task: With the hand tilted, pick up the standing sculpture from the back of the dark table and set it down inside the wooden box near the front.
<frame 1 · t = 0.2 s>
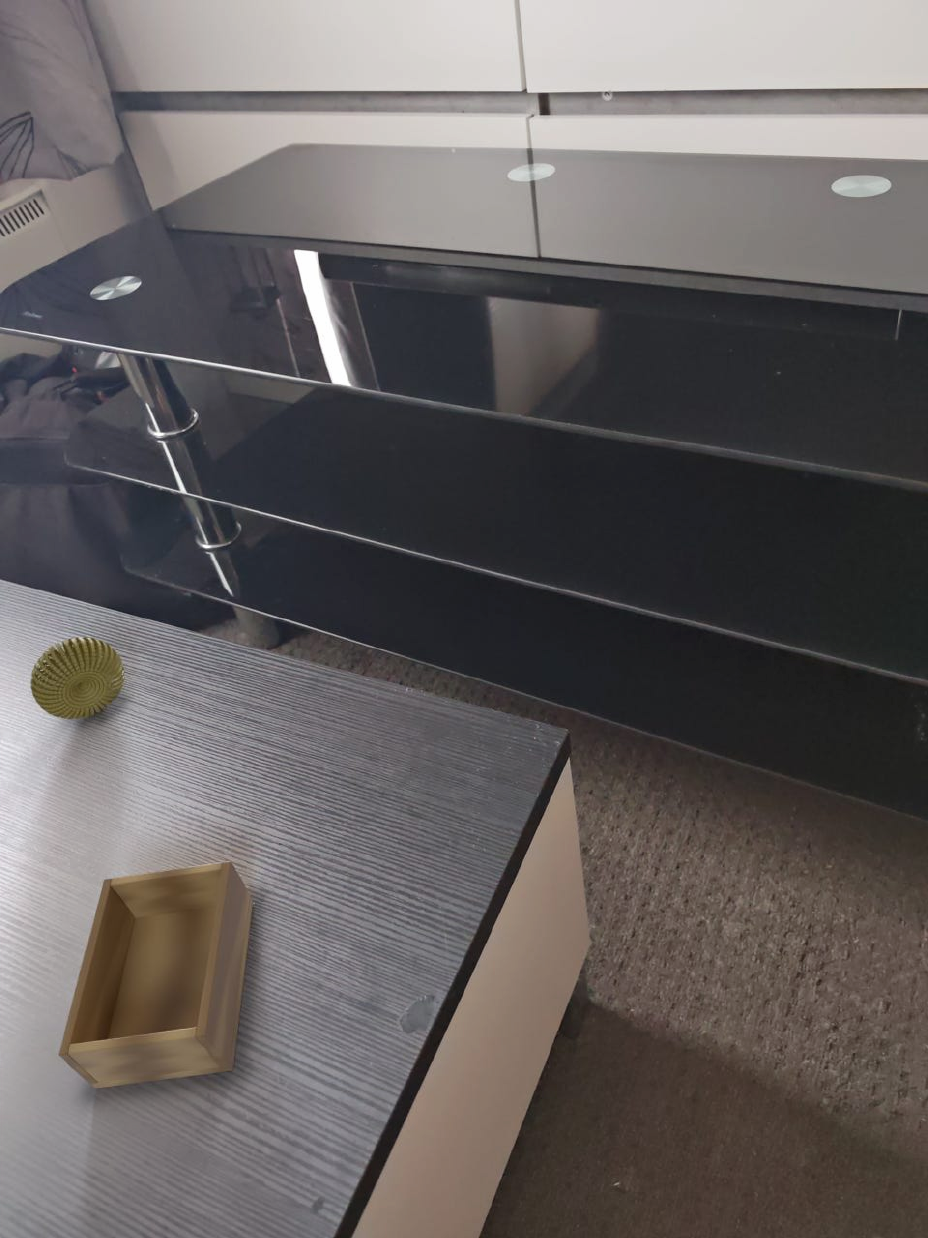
sculpture: (97, 709, 86), on the table
wooden box: (179, 988, 63), on the table
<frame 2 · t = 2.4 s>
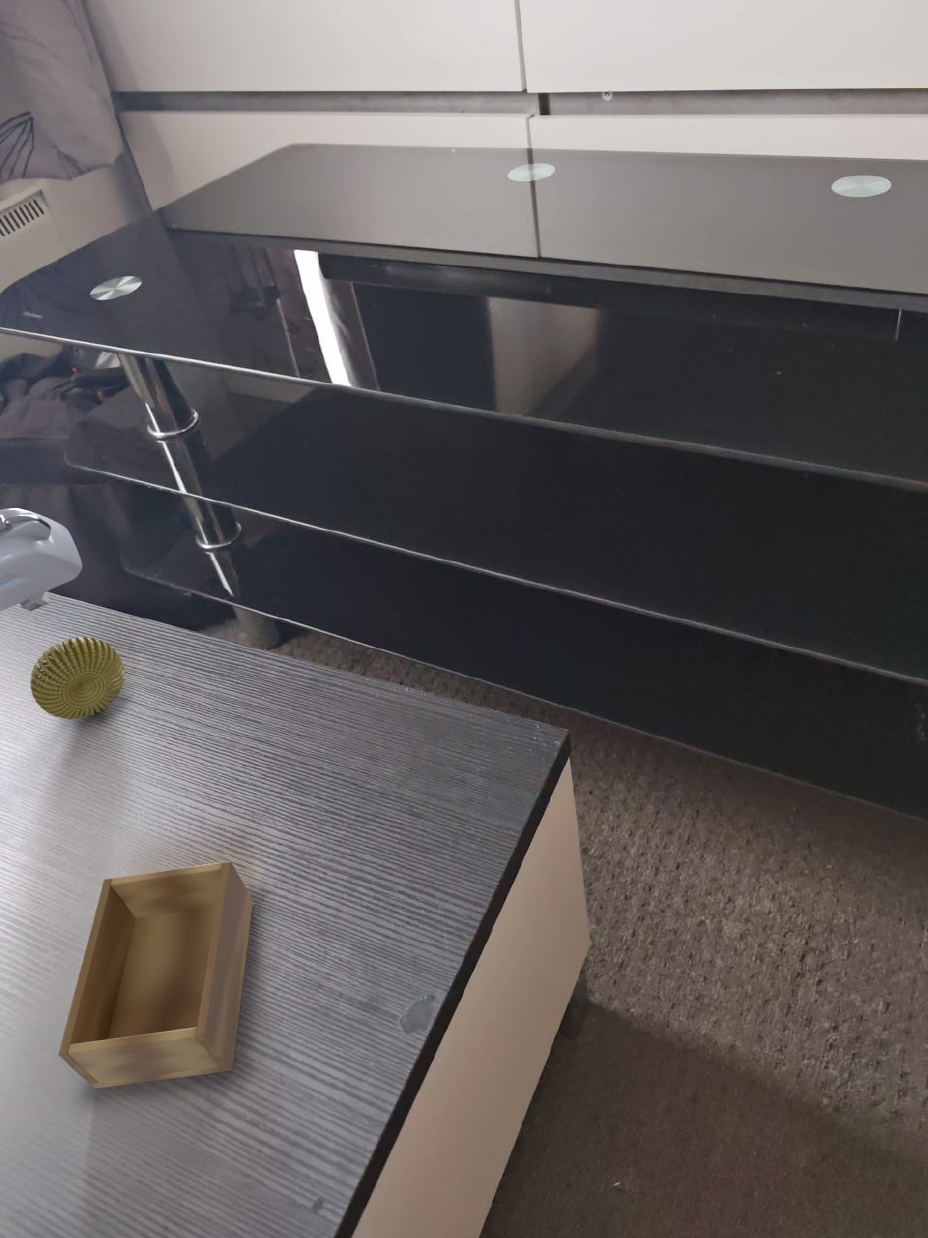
nothing on the table moved.
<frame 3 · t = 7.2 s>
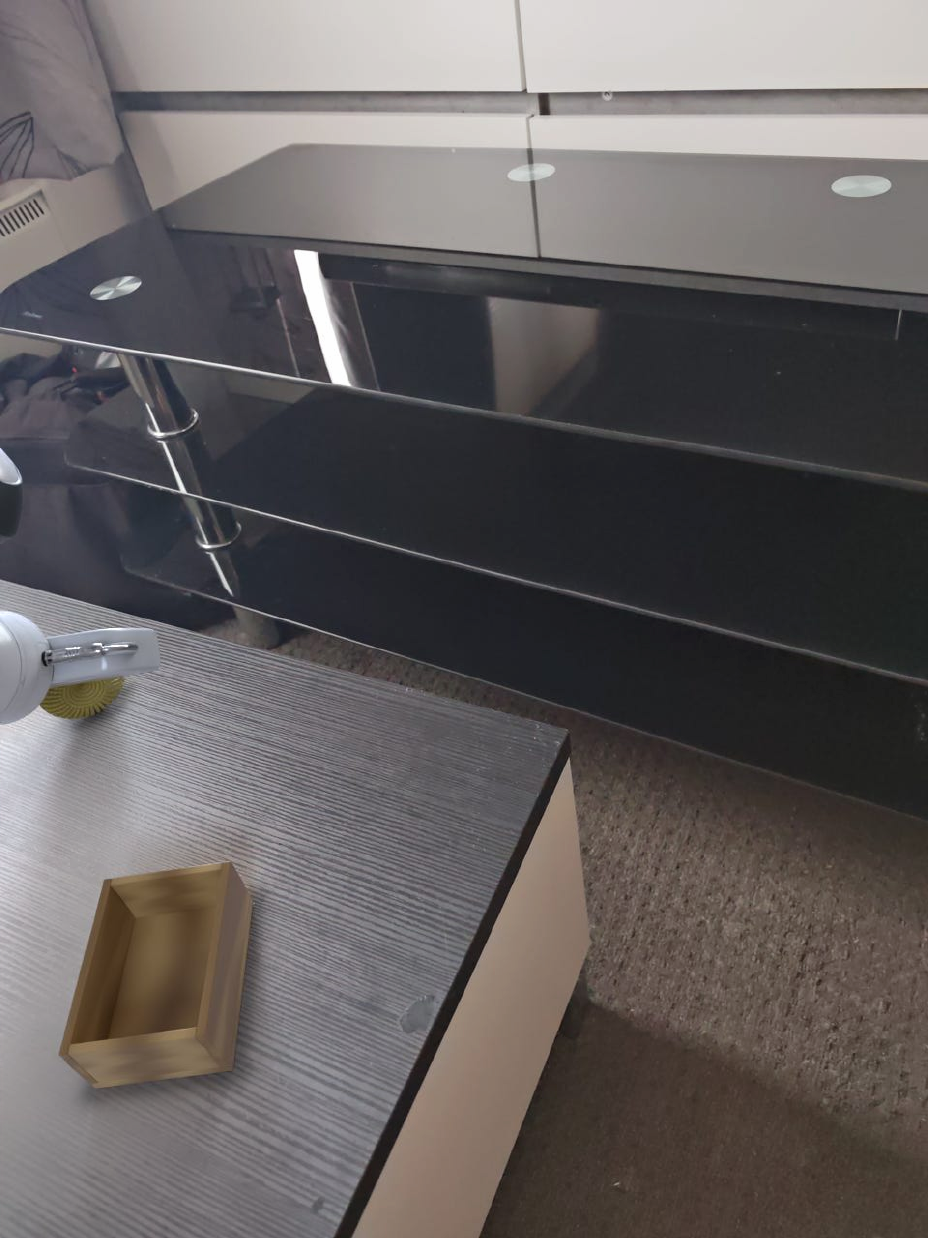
hand: (75, 666, 83), 5 cm above the table, tool tilted 45°, fingers closed on sculpture, 7 cm apart
sculpture: (97, 709, 86), on the table, touching gripper
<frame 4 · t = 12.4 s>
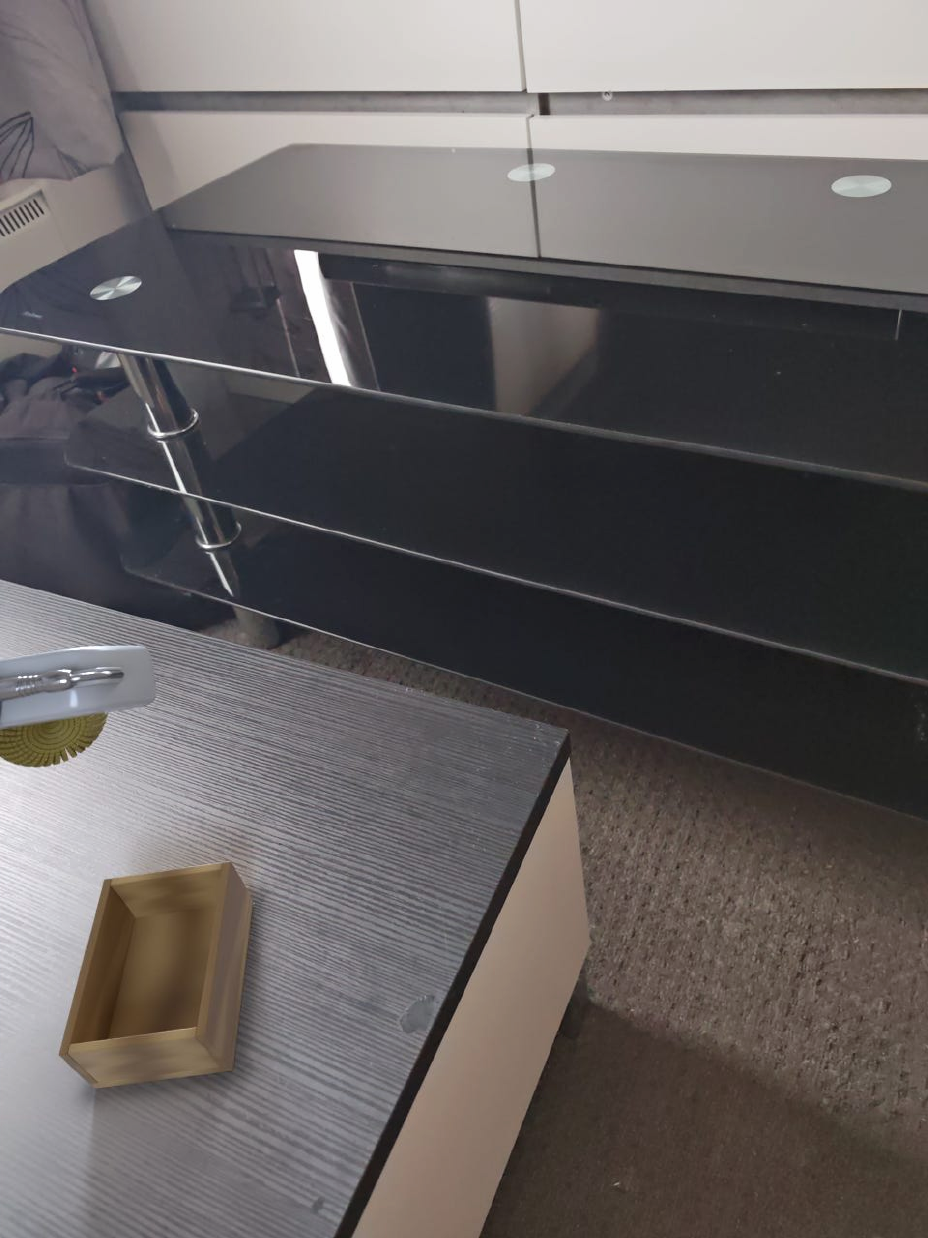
hand: (41, 697, 61), 18 cm above the table, tool tilted 45°, fingers closed on sculpture, 7 cm apart
sculpture: (73, 752, 64), point 13 cm above the table, touching gripper
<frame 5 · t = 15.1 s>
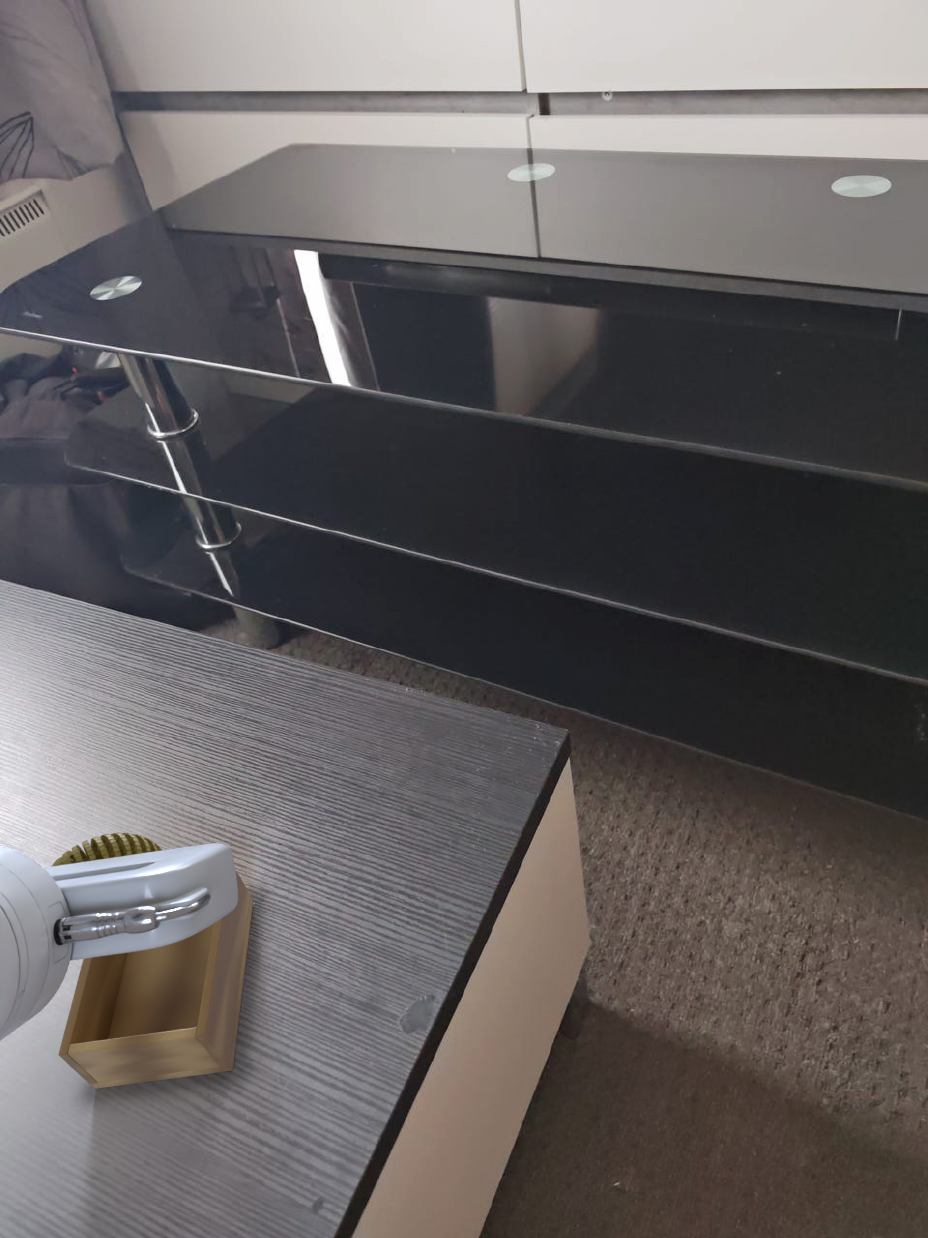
hand: (101, 877, 55), 13 cm above the table, tool tilted 45°, fingers closed on sculpture, 7 cm apart
sculpture: (133, 929, 58), point 8 cm above the table, touching gripper
when the fingers open (8 cm above the table, at t = 17.4 s): sculpture drops 2 cm, resting on wooden box.
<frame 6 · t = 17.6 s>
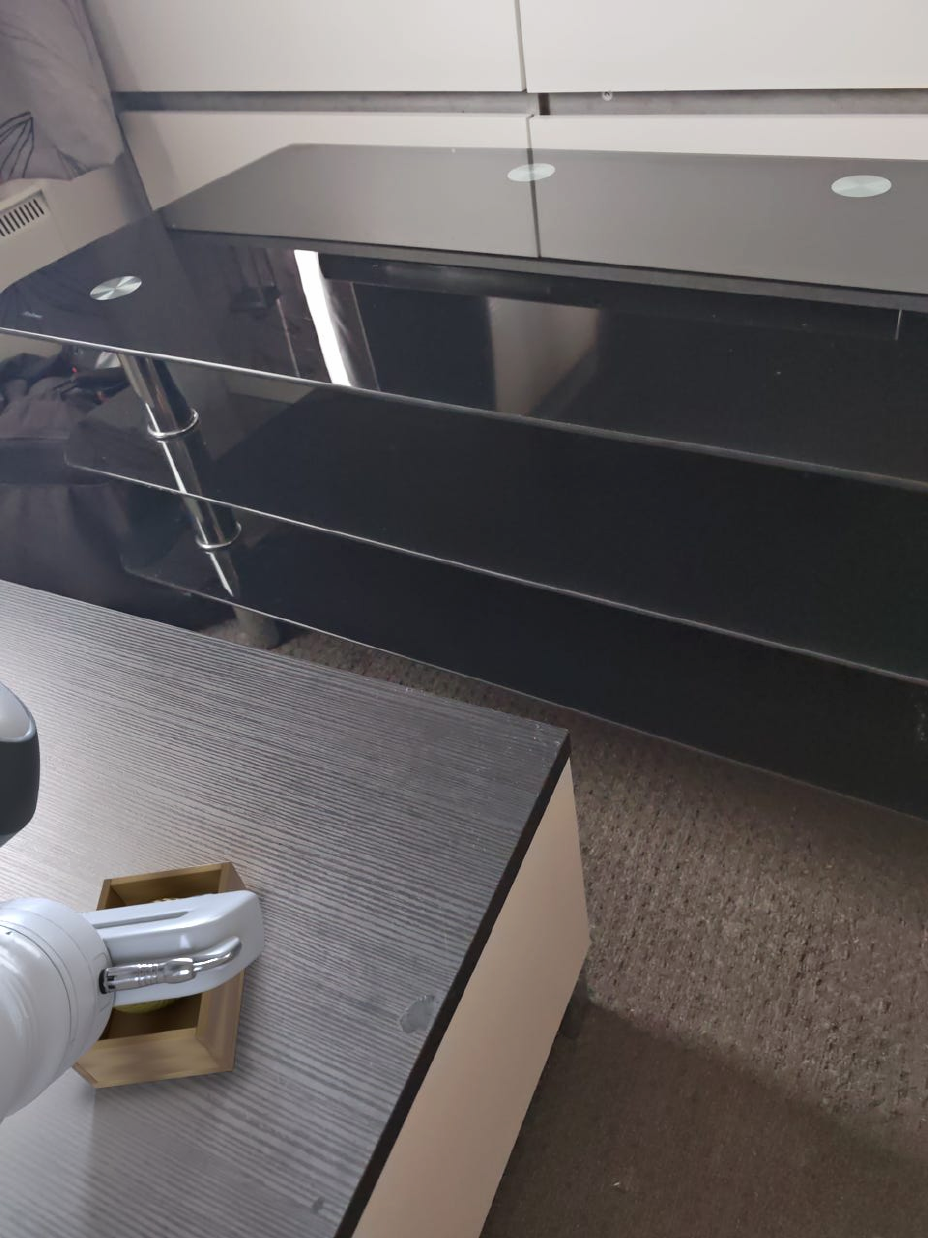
hand: (132, 917, 58), 8 cm above the table, tool tilted 45°, fingers open, 8 cm apart
sculpture: (179, 984, 63), point 1 cm above the table, touching wooden box
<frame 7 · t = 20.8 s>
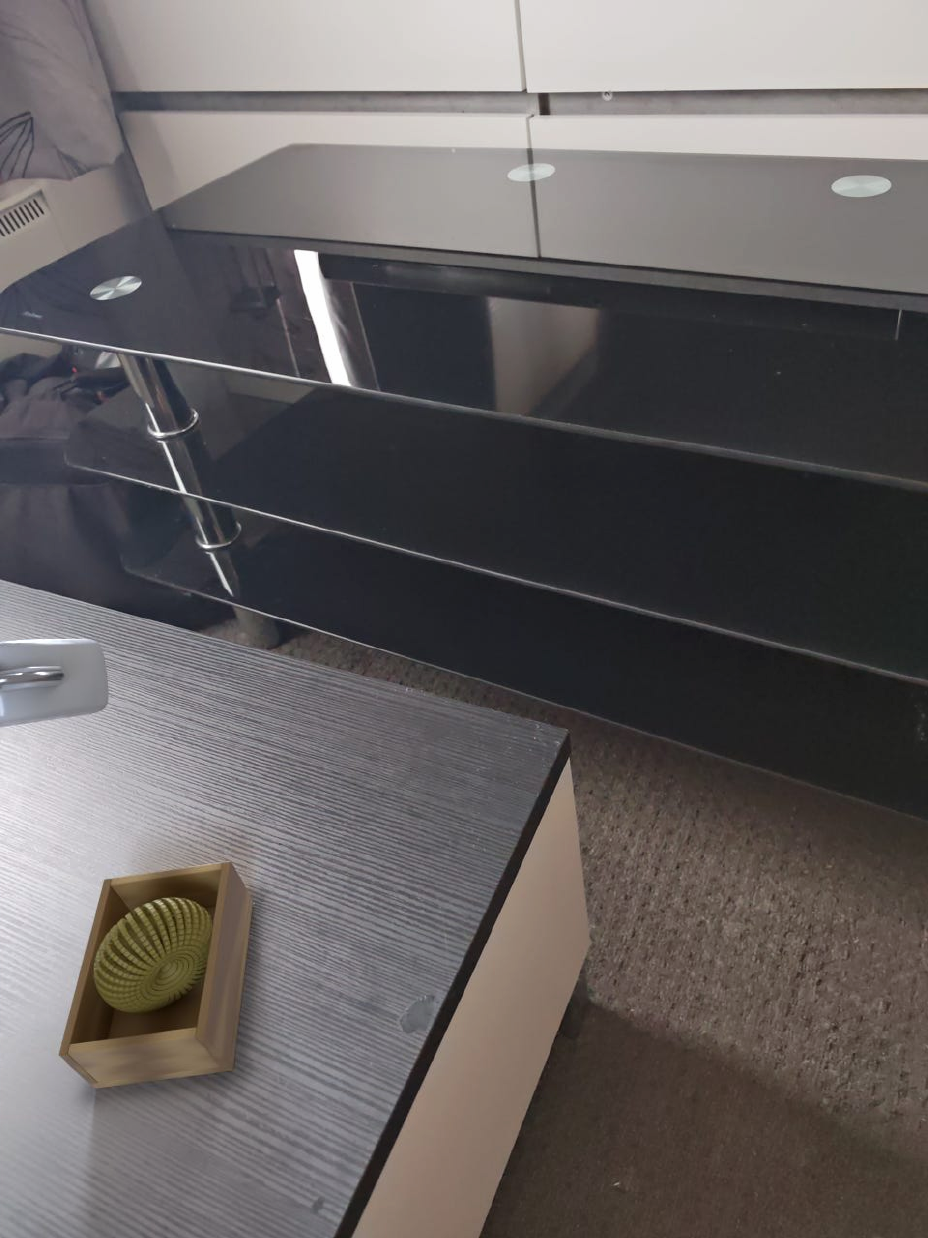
nothing on the table moved.
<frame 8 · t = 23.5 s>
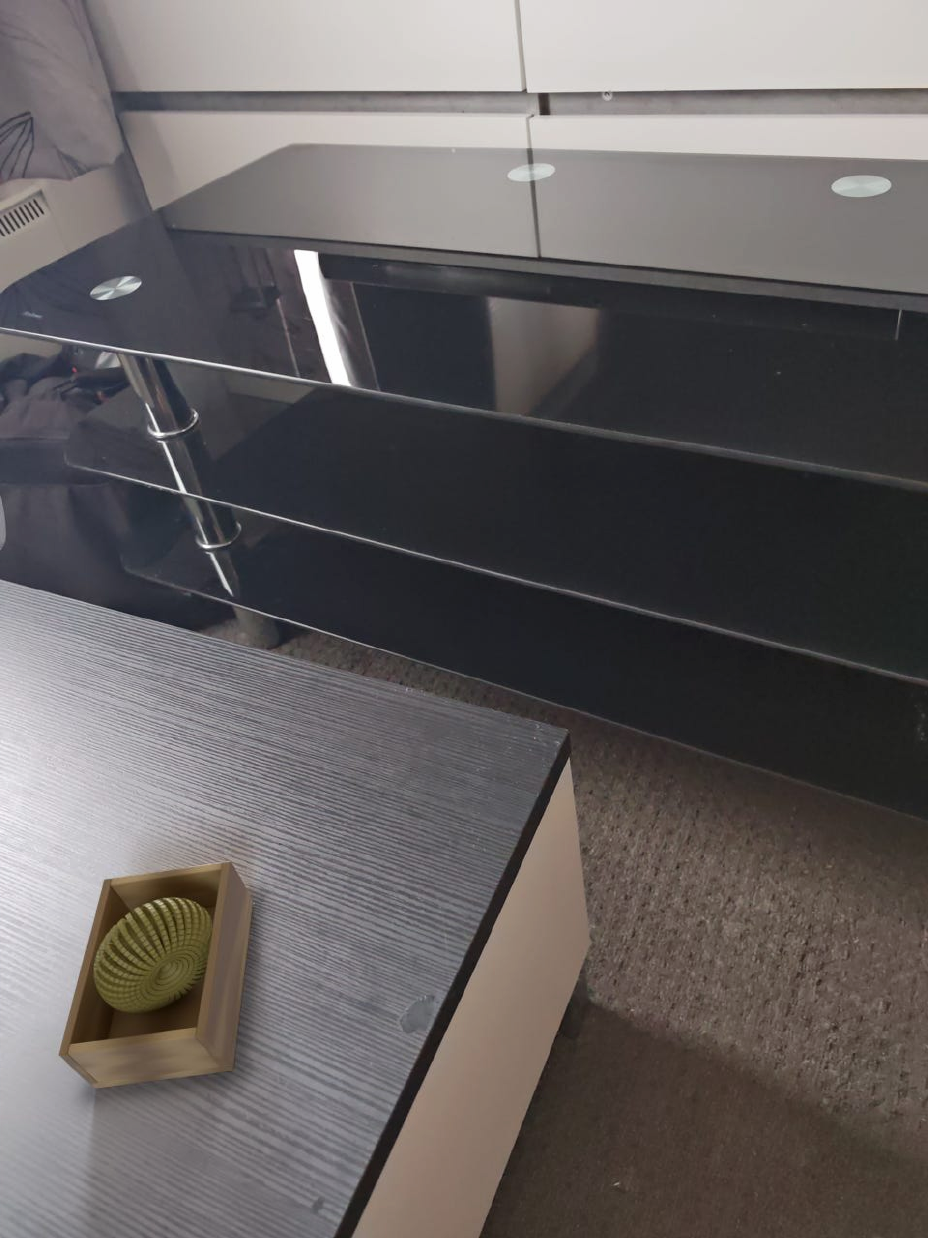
nothing on the table moved.
at the end: sculpture inside the target area in the wooden box (0.3 cm from its centre), point 0.6 cm above the wooden box's base; the gripper is holding nothing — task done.
